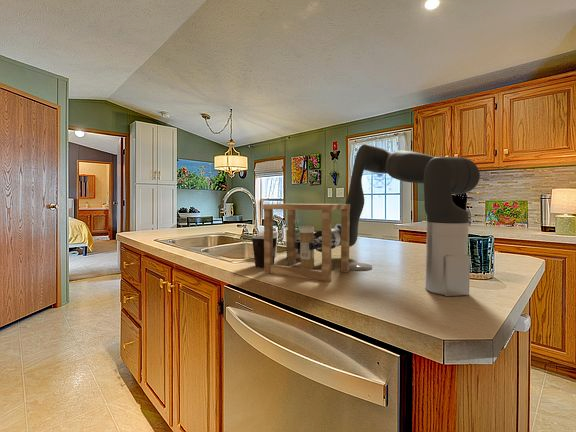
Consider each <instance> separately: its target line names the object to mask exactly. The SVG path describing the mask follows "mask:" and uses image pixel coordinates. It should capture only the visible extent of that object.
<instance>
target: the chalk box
mask: <svg viewBox="0 0 576 432" xmlns="http://www.w3.org/2000/svg"><path fill="white" fill-rule="evenodd" d="M295 225H296V226H297V227H295V242H296V239H298V238H300V227H301V225H300V223H299V220H295ZM285 232H286V235H285V236H286V260H287V259H288V228H287V229H286V231H285ZM298 260H300V261H301V258H300V248H299V249H295V261H298Z"/></svg>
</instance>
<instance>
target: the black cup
mask: <svg viewBox="0 0 576 432" xmlns="http://www.w3.org/2000/svg"><path fill="white" fill-rule="evenodd" d="M278 233H279V232H278V231H277V230H273V236H275V237H277V238H279V237H278V235H279V234H278ZM257 236H264V230H260V231H257ZM277 250H278V240H277V241H276V250H275V256H276V257H277Z"/></svg>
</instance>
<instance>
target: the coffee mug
mask: <svg viewBox="0 0 576 432" xmlns="http://www.w3.org/2000/svg"><path fill="white" fill-rule="evenodd" d="M251 241H252V250H253V259H254V265H255V266H256V267H255V268H258V267H260V268H259V269H264V236H258V235H257V236H252V237H251ZM276 241H277V242H278V237H275V236H273V265H275V250H276Z"/></svg>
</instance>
